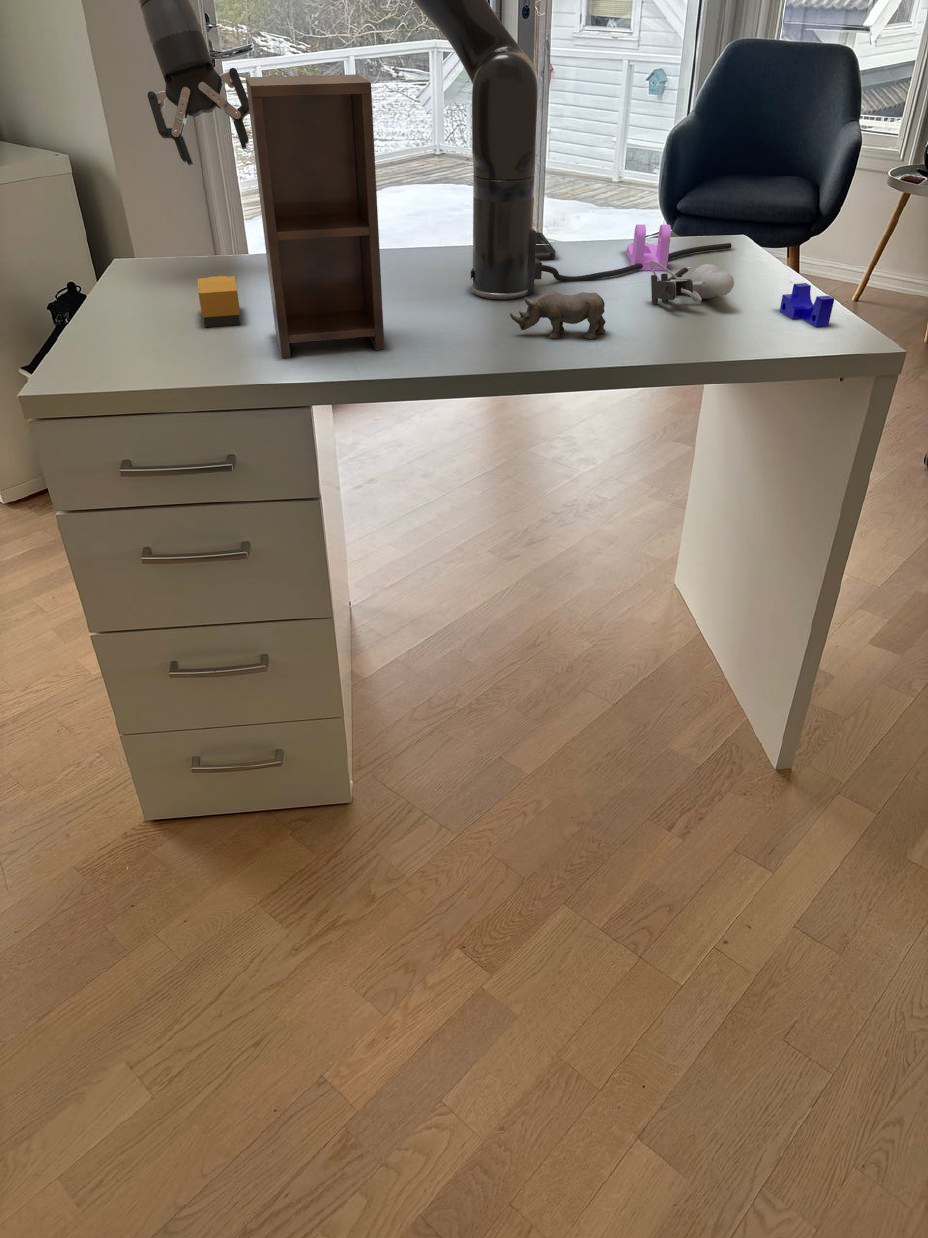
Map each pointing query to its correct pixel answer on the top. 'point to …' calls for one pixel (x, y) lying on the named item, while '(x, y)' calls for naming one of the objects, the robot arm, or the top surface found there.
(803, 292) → the cable holder
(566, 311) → the rhino figurine
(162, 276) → the top surface
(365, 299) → the shelf
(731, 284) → the clip-on lamp
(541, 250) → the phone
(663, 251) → the bracket
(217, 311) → the brush
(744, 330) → the top surface
